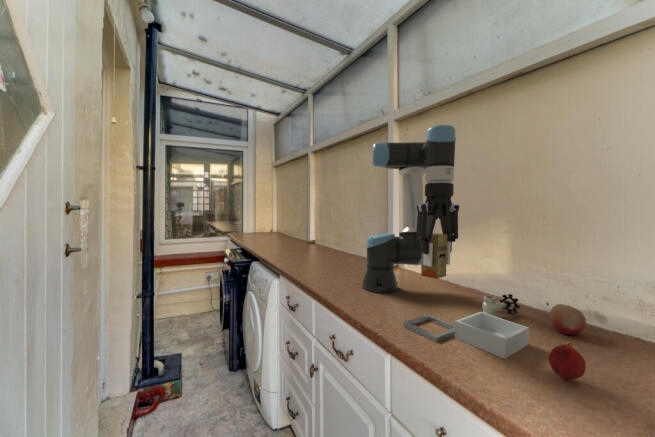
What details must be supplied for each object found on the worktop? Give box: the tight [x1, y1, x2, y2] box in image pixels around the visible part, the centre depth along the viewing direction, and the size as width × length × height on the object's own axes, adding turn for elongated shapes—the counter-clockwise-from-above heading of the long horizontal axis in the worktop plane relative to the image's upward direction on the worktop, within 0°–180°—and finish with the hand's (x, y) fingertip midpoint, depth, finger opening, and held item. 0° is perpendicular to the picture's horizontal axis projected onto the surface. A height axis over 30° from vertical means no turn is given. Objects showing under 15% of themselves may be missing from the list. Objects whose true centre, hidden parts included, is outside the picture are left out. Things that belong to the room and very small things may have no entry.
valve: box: [481, 293, 521, 317], centre depth 92 cm, size 7×7×12 cm
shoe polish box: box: [420, 232, 447, 280], centre depth 81 cm, size 5×5×12 cm
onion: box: [548, 341, 587, 382], centre depth 58 cm, size 6×6×8 cm
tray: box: [454, 311, 530, 360], centre depth 75 cm, size 13×13×5 cm
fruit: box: [548, 303, 587, 336], centre depth 80 cm, size 8×8×8 cm
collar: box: [402, 313, 455, 343], centre depth 82 cm, size 11×11×1 cm
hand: (436, 264), depth 80 cm, fingers closed on shoe polish box, 6 cm apart
